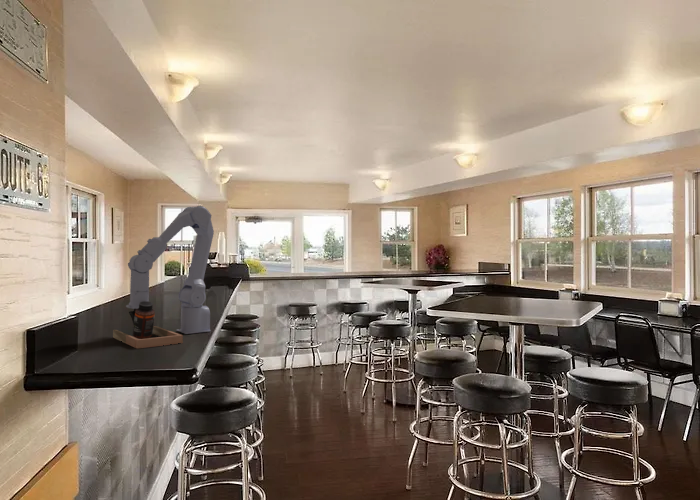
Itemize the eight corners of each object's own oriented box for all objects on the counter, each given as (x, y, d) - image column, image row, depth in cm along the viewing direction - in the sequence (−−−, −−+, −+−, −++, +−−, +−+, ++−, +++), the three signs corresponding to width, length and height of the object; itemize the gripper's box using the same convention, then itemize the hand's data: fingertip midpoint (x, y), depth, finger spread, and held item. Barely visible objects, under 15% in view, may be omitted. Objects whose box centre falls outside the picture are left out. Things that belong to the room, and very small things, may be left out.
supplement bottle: (155, 334, 169) (159, 302, 167) (146, 341, 164) (150, 308, 161) (138, 330, 170) (142, 298, 167) (128, 337, 164) (132, 304, 161)
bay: (155, 333, 176) (156, 326, 176) (182, 343, 161) (182, 335, 160) (113, 337, 167) (113, 329, 167) (136, 348, 151) (137, 340, 151)
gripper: (119, 289, 172) (118, 330, 172) (134, 293, 161) (134, 337, 161) (141, 289, 176) (140, 328, 176) (157, 292, 165) (156, 334, 166)
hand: (138, 332), depth 169 cm, fingers closed, pressing on supplement bottle
